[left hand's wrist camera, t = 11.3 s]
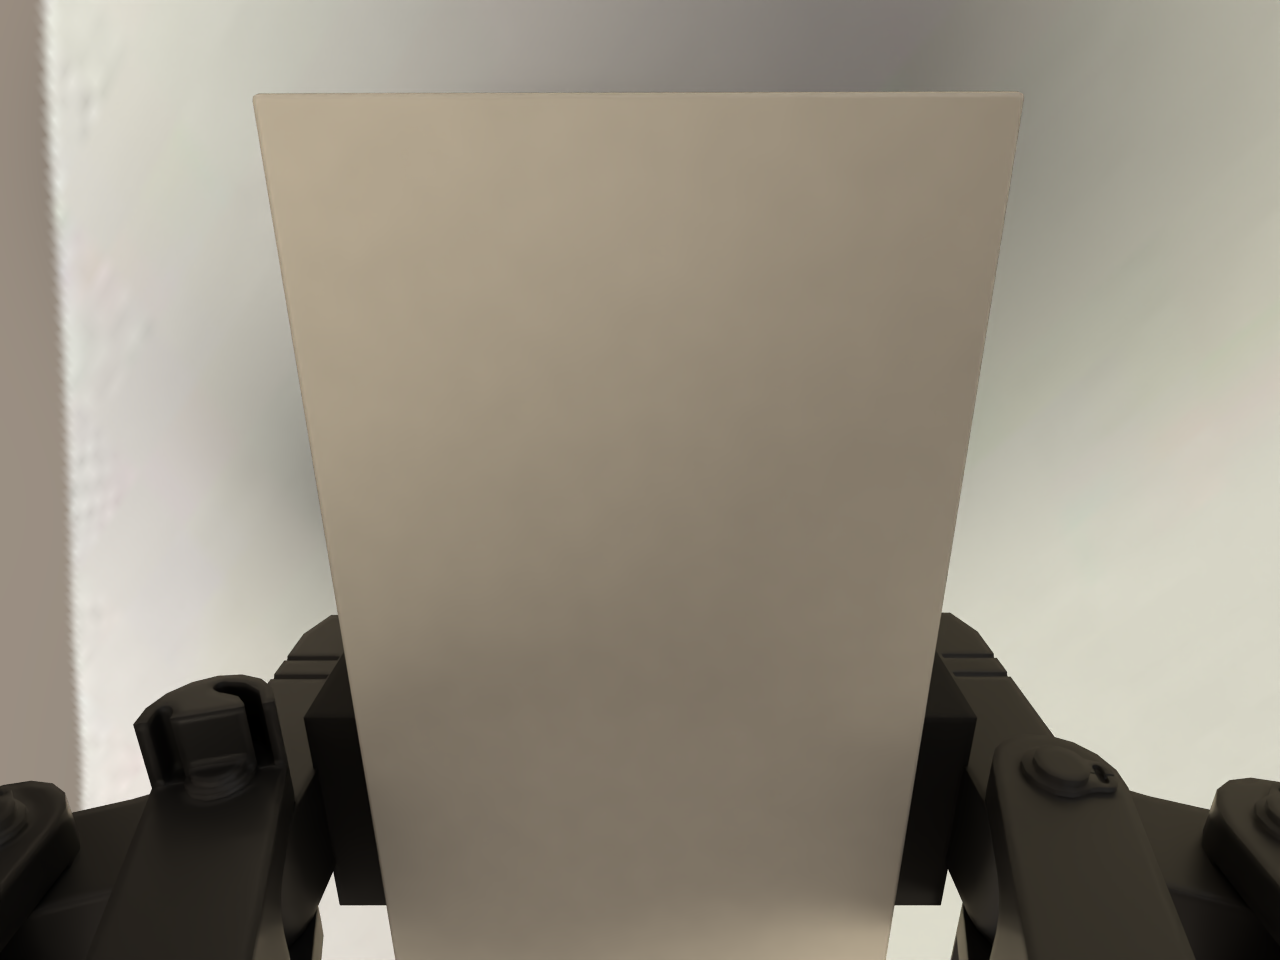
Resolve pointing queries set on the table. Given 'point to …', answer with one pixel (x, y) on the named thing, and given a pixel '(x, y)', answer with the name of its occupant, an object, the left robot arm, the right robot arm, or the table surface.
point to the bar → (639, 493)
